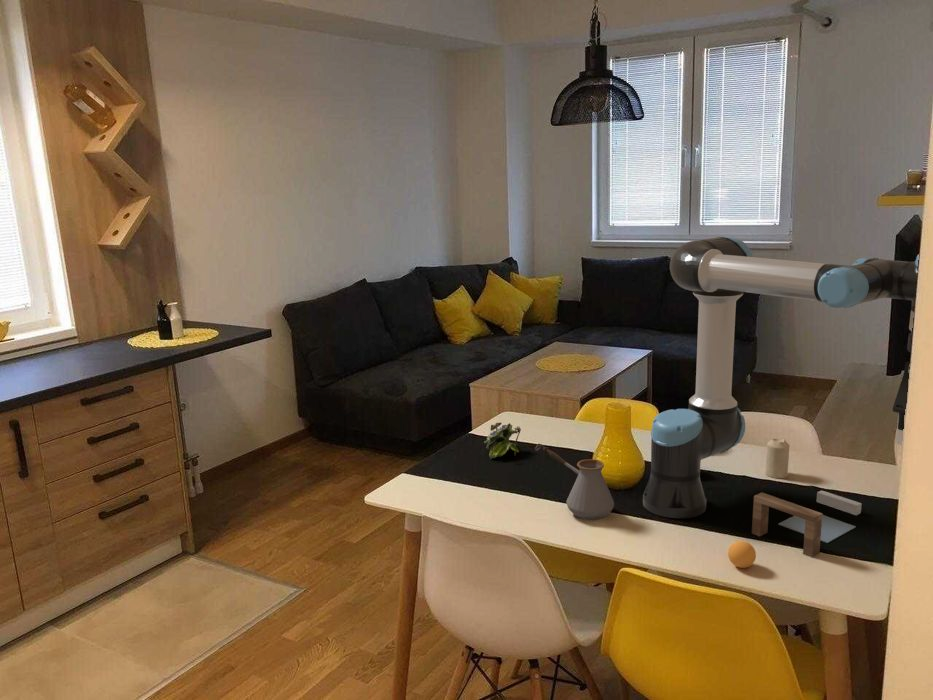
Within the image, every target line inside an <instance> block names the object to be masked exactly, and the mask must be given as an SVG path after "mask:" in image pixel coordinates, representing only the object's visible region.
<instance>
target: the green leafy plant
mask: <svg viewBox="0 0 933 700" xmlns="http://www.w3.org/2000/svg"><path fill="white" fill-rule="evenodd" d="M498 427H499V428H498ZM489 430H490V431H492V432H490V433H489V435H488V436H486V440H485V441H484V442H483V443H484V444H486V449H487V450H488V449H490V450H489V454H488V455H489V459H490V460H492V459H495V458H497V457H502V456H504V455H505V454H506V453H507V452H508V451H509V449H510V450H512V451H513V452H514V454H513V455H516V453H520V451H519V449H518V447H517V442H518V439H519V436H520V433H521V431H522V428H521V426H518V425H517V426H516V427H514V428H513V425H512V424H511V423H510V422H508V423H507V424H502V422H501V421H500V422H495V424H491V425H490V428H489ZM514 434H517V435H516V439H515V441H514V443H512V442H510V438H511V437H512V435H514Z"/></svg>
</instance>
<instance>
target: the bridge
mask: <svg viewBox="0 0 933 700" xmlns="http://www.w3.org/2000/svg"><path fill="white" fill-rule="evenodd" d="M769 508H772V509H775V510H777V511H780V512H784V513H786V514H789V515H791V516H797V517H800V518H802V519H805V534H803V548H802V550H803V551H802V555H804V556H807V557H810V558H813V557H814V556H817V555H818V554H820V549H821V540H820V539H821V527H822V515H824V514H823V513H822V512H819V511H817V510H813V509H810V508H807V507H804V506H802V505H799V504H796V503H794V502H791V501H787V500H785V499H781V498H779V497H776V496H774V495H770V494H767V493H764V492H760V493H757V494H754V496H753V507H752V525H751V534H752V535H754V536H756V537H761V536H764V535H765V534H767V533H768V530H769V529H768V528H769V527H768V526H769V513H770V511H769V510H770V509H769Z"/></svg>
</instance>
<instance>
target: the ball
mask: <svg viewBox="0 0 933 700" xmlns="http://www.w3.org/2000/svg"><path fill="white" fill-rule="evenodd" d="M756 553H757V552H756V550H755V548H754V546H753V545H752V544H751V543H750V542H747V541H745V540H736V541H734V542H733V543H732V544H730V546H729V547H728V551H727V557H728V559H729V561H730V563H732V565H734V566H735V567H737V568H740V569H744V568H749V567H751V566H752V565H753V564H754V562H755V561H756V557H757V554H756Z"/></svg>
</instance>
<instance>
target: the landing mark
mask: <svg viewBox="0 0 933 700" xmlns="http://www.w3.org/2000/svg"><path fill="white" fill-rule="evenodd" d="M777 525H779V526H781V527H783V528H786V529H789V530H792V531H794V532H798V533H800V534H803V535H804V534H805V519H802V518H800V517H797V516H794V515H792V516H791V517H788V518H787V519H785V520H783V521H781V522H779V523H778V524H777ZM855 528H856V525H853V524H850V523H847V522H844V521H841V520H839V519H835V518H834V517H829V516H827V515H825V514H823V515H822V527H821V539H820V542H821V541H822V542H824V543H827V544H828V543H830V542H832V541H834V540H836V539H838V538H840V537H841V536H843V535H845V534H846V533H848V532H850V531H852V530H853V529H855Z"/></svg>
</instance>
